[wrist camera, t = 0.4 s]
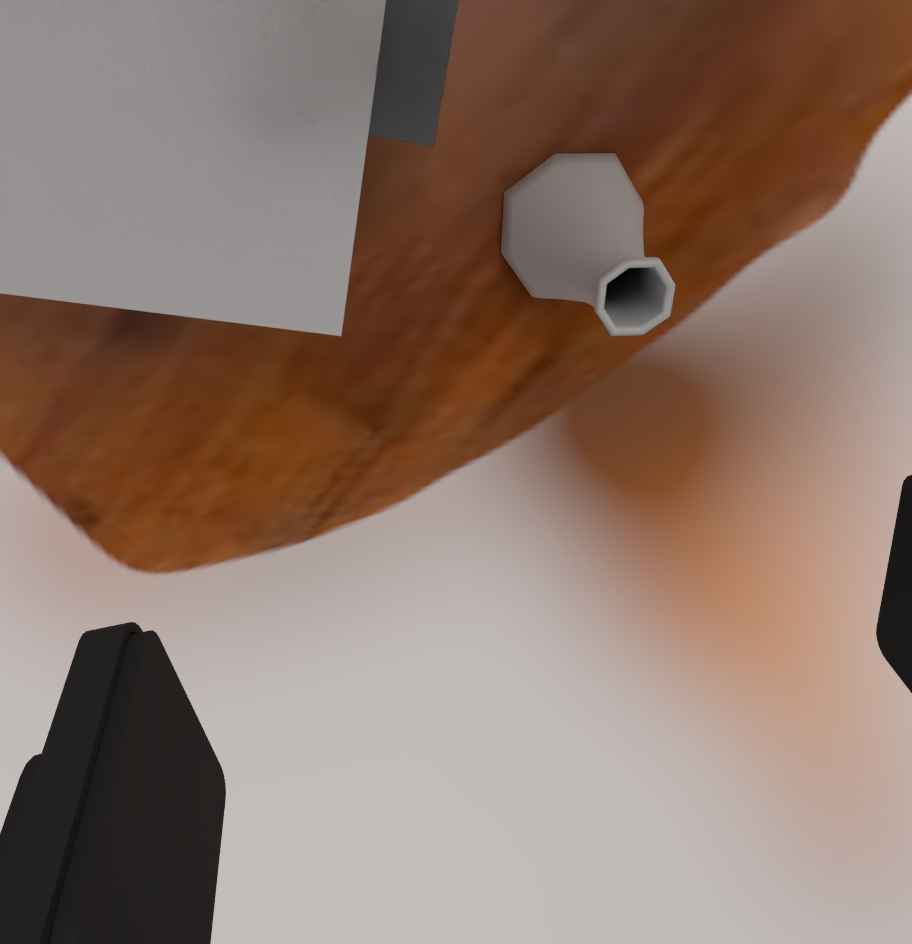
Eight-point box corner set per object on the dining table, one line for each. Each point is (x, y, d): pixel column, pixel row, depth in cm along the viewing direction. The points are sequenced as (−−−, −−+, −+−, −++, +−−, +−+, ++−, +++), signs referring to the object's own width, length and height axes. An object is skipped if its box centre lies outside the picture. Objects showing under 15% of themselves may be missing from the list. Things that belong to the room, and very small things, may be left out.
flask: (518, 317, 43) (567, 407, 35) (479, 178, 39) (524, 242, 31) (654, 270, 43) (736, 350, 35) (628, 126, 39) (714, 175, 31)
